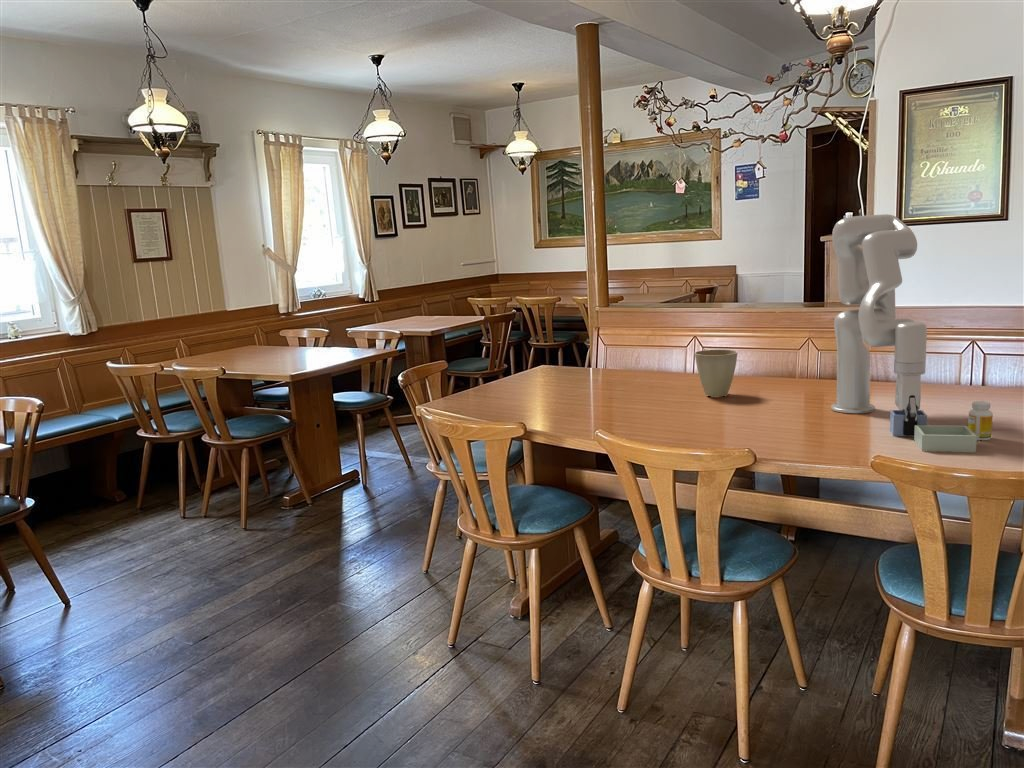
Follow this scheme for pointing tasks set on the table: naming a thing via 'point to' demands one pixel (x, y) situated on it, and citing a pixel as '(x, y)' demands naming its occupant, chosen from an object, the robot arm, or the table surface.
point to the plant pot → (716, 370)
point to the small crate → (898, 421)
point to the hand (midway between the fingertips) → (907, 431)
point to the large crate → (945, 438)
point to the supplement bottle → (980, 420)
